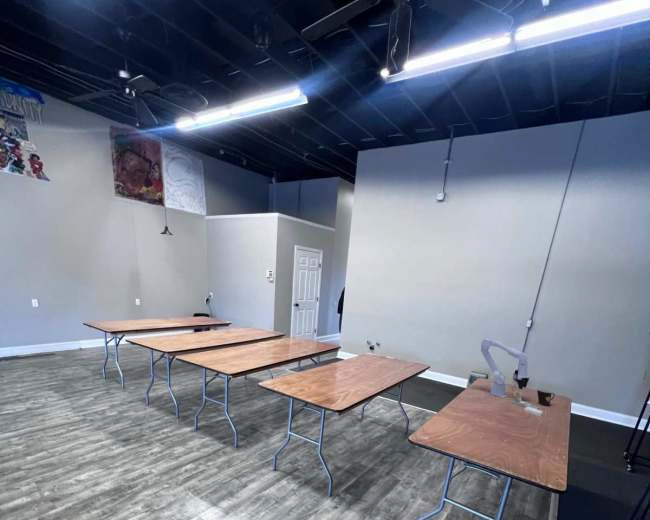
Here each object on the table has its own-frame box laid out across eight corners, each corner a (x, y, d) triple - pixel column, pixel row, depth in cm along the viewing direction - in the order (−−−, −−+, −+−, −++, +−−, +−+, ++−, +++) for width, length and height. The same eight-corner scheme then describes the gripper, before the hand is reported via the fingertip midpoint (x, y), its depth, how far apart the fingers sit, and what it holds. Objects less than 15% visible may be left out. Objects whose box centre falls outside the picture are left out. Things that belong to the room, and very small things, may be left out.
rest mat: (510, 402, 217) (510, 401, 217) (514, 400, 222) (514, 399, 222) (535, 410, 205) (535, 409, 205) (539, 407, 210) (539, 407, 210)
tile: (524, 408, 202) (540, 413, 195) (527, 406, 207) (543, 411, 200) (524, 411, 202) (540, 416, 195) (527, 409, 206) (543, 414, 199)
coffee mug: (538, 405, 215) (538, 391, 215) (535, 401, 223) (535, 387, 223) (558, 408, 210) (558, 394, 211) (554, 404, 218) (554, 390, 219)
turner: (513, 401, 217) (513, 391, 217) (516, 400, 220) (516, 390, 221) (529, 406, 209) (529, 396, 209) (532, 405, 213) (532, 395, 213)
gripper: (525, 372, 216) (525, 391, 215) (532, 369, 225) (532, 388, 224) (514, 369, 221) (514, 388, 220) (521, 367, 230) (521, 385, 229)
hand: (522, 388), depth 222 cm, fingers open, 7 cm apart
